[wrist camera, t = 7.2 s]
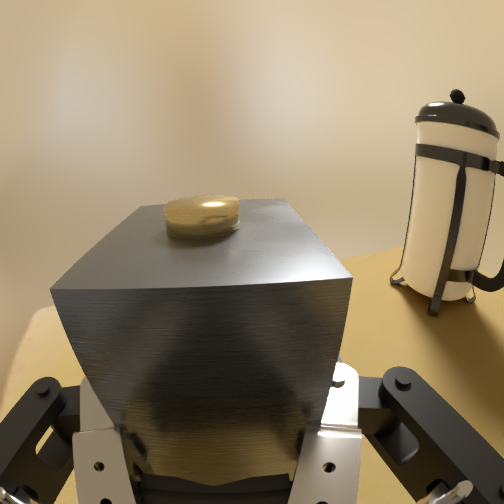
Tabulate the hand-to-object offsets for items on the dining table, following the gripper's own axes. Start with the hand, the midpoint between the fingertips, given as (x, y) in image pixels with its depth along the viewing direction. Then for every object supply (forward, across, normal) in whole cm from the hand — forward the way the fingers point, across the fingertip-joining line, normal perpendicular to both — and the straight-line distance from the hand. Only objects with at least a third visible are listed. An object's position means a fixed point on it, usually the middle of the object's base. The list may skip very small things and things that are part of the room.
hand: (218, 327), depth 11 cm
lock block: (-3, 0, +7) cm, 8 cm away
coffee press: (+19, -31, +13) cm, 38 cm away
